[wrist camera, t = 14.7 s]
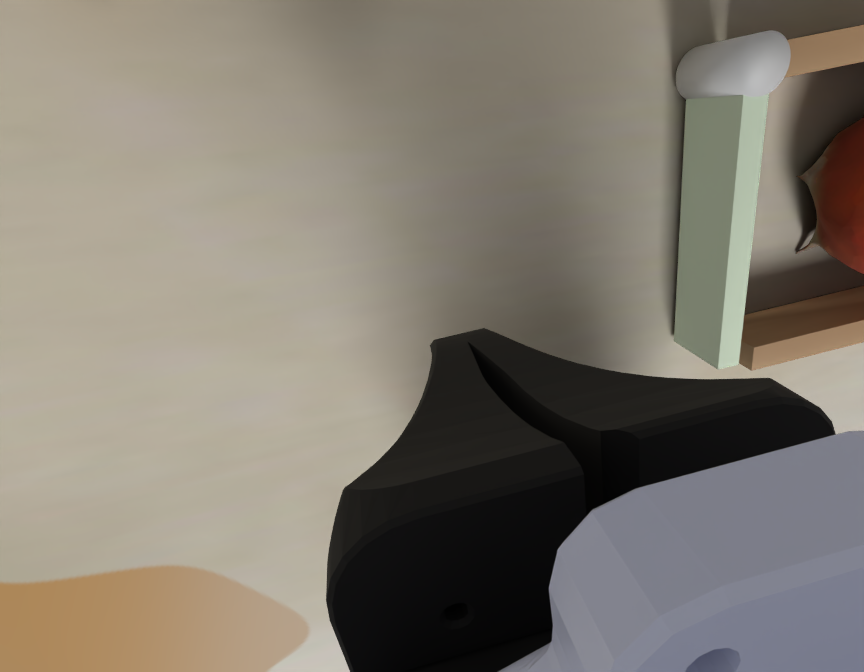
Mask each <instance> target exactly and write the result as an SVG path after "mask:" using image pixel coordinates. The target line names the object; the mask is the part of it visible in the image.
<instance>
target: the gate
mask: <svg viewBox="0 0 864 672" xmlns="http://www.w3.org/2000/svg"><path fill="white" fill-rule="evenodd" d="M790 57H791V52H790V46H789V43H788V41H787V39H786V38H785V36H784V35H782V34H781V33H779V32H777V31H772V30H770V31H764V32H759V33H755V34H750V35H746V36H741V37H737V38H732V39H728V40H723V41H719V42H714V43H710V44H705V45H701V46H697V47H694V48H693V49H691V50H690V51H688V52H687V53H686V54H685V55H684V57H683V58H682V60H681V61H680V63H679V66H678V68H677V72H676V86H677V89H678V91H679V93H680V94H681V96H682V97H684V98H685V99H686V111H685V131H684V151H683V171H682V192H681V212H680V232H679V252H678V272H677V292H676V312H675V332H674V341H675V342H676V343H678V344H679V345H681V346H682V347H684V348H685V349H687V350H689V351H690V352H692V353H693V354H695V355H696V356H698V357H699V358H701V359H702V360H704V361H706V362H707V363H709V364H710V365H712V366H713V367H715V368H716V369H722V368H727V367H731V366H735V365H739V356H740V348H741V339H742V330H743V321H744V312H745V303H746V294H747V285H748V276H749V267H750V258H751V249H752V241H753V232H754V223H755V214H756V205H757V196H758V187H759V178H760V169H761V160H762V151H763V143H764V134H765V125H766V116H767V107H768V98H769V93H770V92H771V91H773V90H774V89H775V88H776V87H777V86H778V85H779V84H780V83H781V82H782V80H783V79H784V77H785V75H786V73H787V70H788V68H789V64H790Z"/></svg>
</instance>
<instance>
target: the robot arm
mask: <svg viewBox="0 0 864 672" xmlns="http://www.w3.org/2000/svg"><path fill="white" fill-rule="evenodd" d="M430 347H431V352H432V363H431V368H430V373H429V377H428V381H427V384H426V387H425V390H424V393H423V396H422V398H421V400H420V403H419V405H418V407H417V409H416V411H415V413H414V415H413V417H412V419H411V420H410V422H409V424H408V425H407V427H406V428H405V430H404V431H403V433H402V435H401V436H400V437H399V439H398V440H397V441H396V442H395V444H394V445H393V446H392V447H391V448H390V449H389V450H388V451H387V452H386V453H385V454H384V455H383V456H382V457H381V458H380V459H379V460H378V461H377V462H376V463H375V464H374V465H373V466H372V467H370V468H369V469H368V470H367V471H365V472H364V473H363V474H362V475H360V476H359V477H358V478H357V479H356V480H354V481H353V482H352V483H350V484H349V485H348V486H346V487H345V488H344V490H343V492H342V495H341V498H340V502H339V505H338V509H337V513H336V516H335V521H334V526H333V530H332V535H331V541H330V547H329V554H328V563H327V593H326V602H327V607H328V613H329V618H330V622H331V624H332V627H333V630H334V632H335V635H336V637H337V640H338V642H339V645H340V647H341V650H342V652H343V655H344V657H345V660H346V662H347V665H348V667H349V670H350V672H864V431H848V432H844V433H839V434H835V431H834V427H833V424H832V421H831V420H830V419H829V418H828V417H827V415H826V414H825V413H824V412H823V411H822V409H821V408H819V407H818V406H816V405H814V404H813V403H811V402H809V401H808V400H806V399H804V398H803V397H801V396H799V395H798V394H796V393H794V392H793V391H791V390H789V389H788V388H786V387H784V386H783V385H781V384H779V383H778V382H776V381H774V380H773V379H771V378H750V379H681V378H664V377H652V376H643V375H636V374H628V373H621V372H615V371H609V370H604V369H599V368H595V367H591V366H586V365H582V364H578V363H574V362H571V361H567V360H564V359H561V358H558V357H555V356H552V355H549V354H546V353H543V352H540V351H538V350H535V349H533V348H530V347H528V346H525V345H523V344H520V343H518V342H516V341H513V340H511V339H509V338H507V337H504V336H502V335H500V334H497V333H495V332H493V331H490V330H488V329H484V328H483V329H479V330H474V331H470V332H466V333H462V334H457V335H453V336H449V337H445V338H440V339H436V340H434V341H433V342H432V344H431V345H430Z"/></svg>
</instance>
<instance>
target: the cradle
mask: <svg viewBox="0 0 864 672" xmlns="http://www.w3.org/2000/svg"><path fill="white" fill-rule="evenodd" d="M787 41H788V43H789V46H790V52H791V57H790V64H789V68H788V70H787V73H786V75H785V77H790V76H795V75H800V74H805V73H810V72H815V71H820V70H825V69H830V68H834V67H839V66H844V65H849V64H854V63H859V62H864V25H859V26H854V27H849V28H844V29H839V30H834V31H829V32H823V33H818V34H813V35H808V36H803V37H798V38H793V39H788V40H787ZM785 77H784V78H785ZM862 342H864V286H861V287H857V288H852V289H848V290H844V291H840V292H836V293H832V294H828V295H824V296H820V297H816V298H812V299H808V300H803V301H799V302H795V303H791V304H787V305H783V306H779V307H775V308H771V309H767V310H763V311H758V312H754V313H750V314H746V315H744V321H743V330H742V339H741V348H740V356H739V363H740V364H741V365H743V366H745V367H746V368H748V369H750V370H751V371H752V370H756V369H760V368H764V367H768V366H771V365H775V364H779V363H783V362H787V361H791V360H795V359H799V358H803V357H807V356H811V355H815V354H819V353H822V352H826V351H830V350H834V349H838V348H842V347H846V346H850V345H854V344H858V343H862Z"/></svg>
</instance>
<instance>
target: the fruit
mask: <svg viewBox="0 0 864 672" xmlns="http://www.w3.org/2000/svg"><path fill="white" fill-rule="evenodd" d="M796 177H799V178H801V179H802V180H803V181H804V182H805V183H806V184H808V187H809V189H810V192H811V195H812V197H813V200H814V203H815V208H816V213H817V225H816V229H815V233H814V235H813V237H812V239H811V241H810V243H809V244H808V245H807V246H805V247H804V248H803V249H801V250H799V251H797V252H796V254H797V253H800V252H802V251H805V250H809V249H811V248H813V247H816V246H820V247H822V248H823V249H824V250H825V251H826V252H827V253H828V254H829V255H831V256H832V257H834V258H836V259H838V260H839V261H841V262H842V263H844V264H845V265H847V266H849V267H850V268H852V269H854V270H856V271H858V272H860V273H862V274H864V117H863V118H862V119H860V120H859V121H857V122H855V123H854V124H852V125H850V126H849V127H847V128H846V129H844V130H843V131H841V132H839V133H838V134H837V135H836V136H835V138H834V139H833V140H832V142H831V143H830V144H829V145H828V146H827V148H826V149H825V151H824V152H823V154H822V155H821V156H820V158H819V159H818V160H817V161H816V163H815V164H814V165H813V166H812V167H811V168H810V169H809V170H807V171H806V172H805V173H804V174H803V175H801V176H796Z"/></svg>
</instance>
